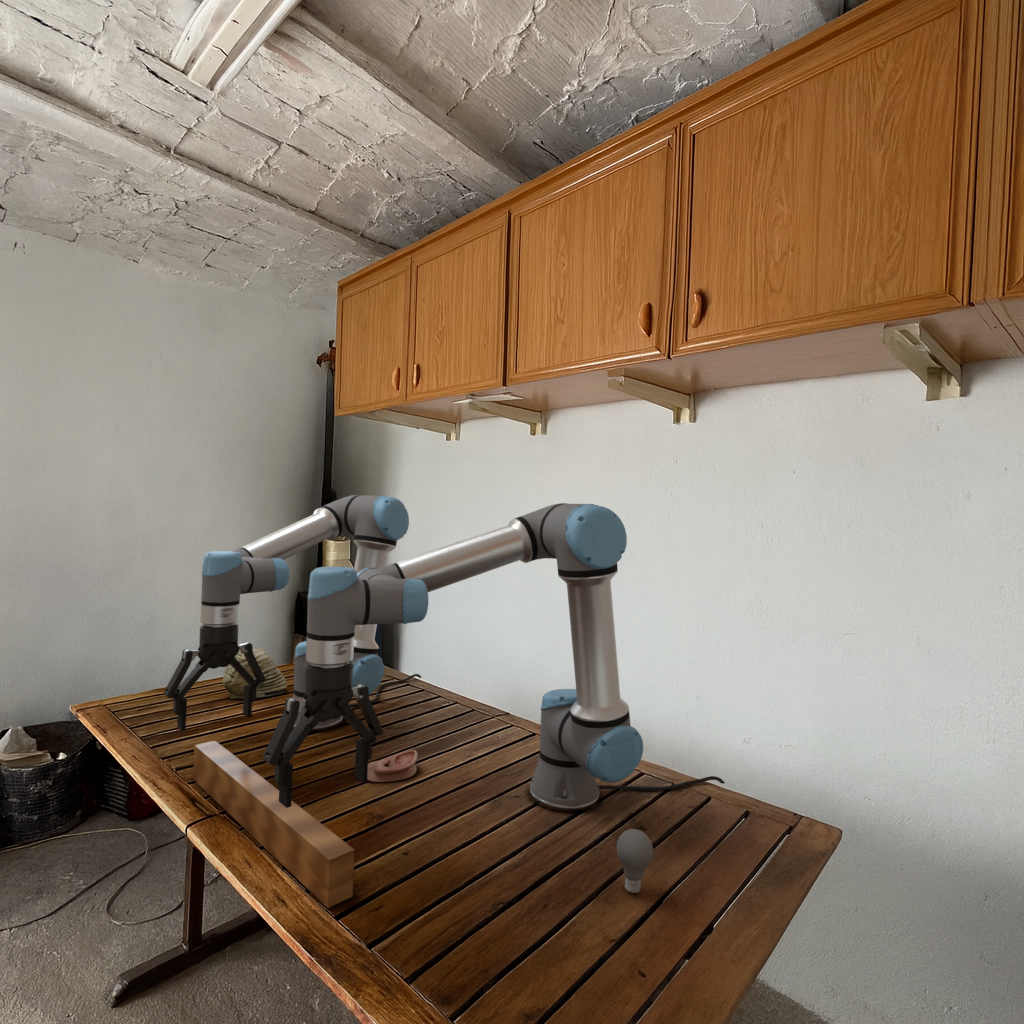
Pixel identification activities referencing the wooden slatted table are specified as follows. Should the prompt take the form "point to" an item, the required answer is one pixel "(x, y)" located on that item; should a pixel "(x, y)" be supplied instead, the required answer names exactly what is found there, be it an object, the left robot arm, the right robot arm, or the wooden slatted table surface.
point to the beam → (277, 824)
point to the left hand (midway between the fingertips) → (215, 722)
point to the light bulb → (634, 857)
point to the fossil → (273, 676)
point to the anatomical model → (393, 767)
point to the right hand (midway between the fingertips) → (324, 791)
